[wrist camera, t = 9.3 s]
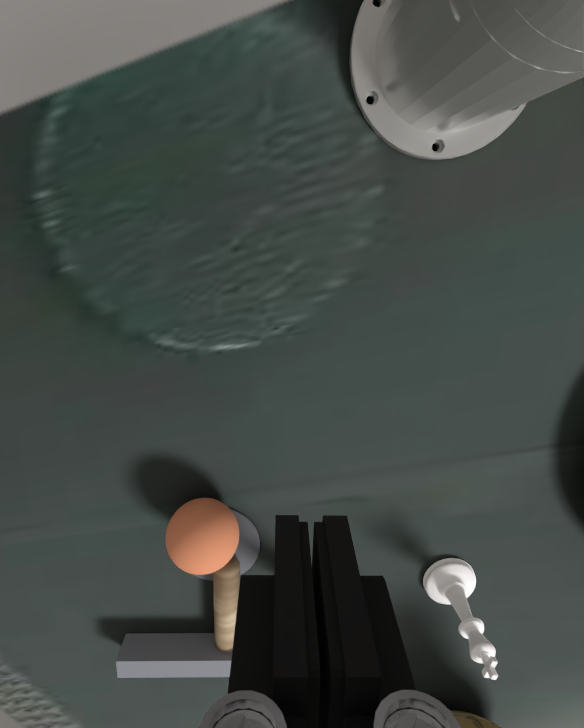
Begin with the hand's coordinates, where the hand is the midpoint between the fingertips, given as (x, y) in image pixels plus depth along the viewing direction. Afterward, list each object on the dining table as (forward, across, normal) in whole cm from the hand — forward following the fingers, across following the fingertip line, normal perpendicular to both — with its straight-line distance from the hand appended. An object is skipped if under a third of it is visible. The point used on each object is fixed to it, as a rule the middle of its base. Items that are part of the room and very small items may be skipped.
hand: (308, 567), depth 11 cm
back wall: (+26, +6, +33) cm, 43 cm away
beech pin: (+26, +5, +23) cm, 35 cm away
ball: (+24, +7, +18) cm, 31 cm away
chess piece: (+27, -16, +25) cm, 40 cm away
